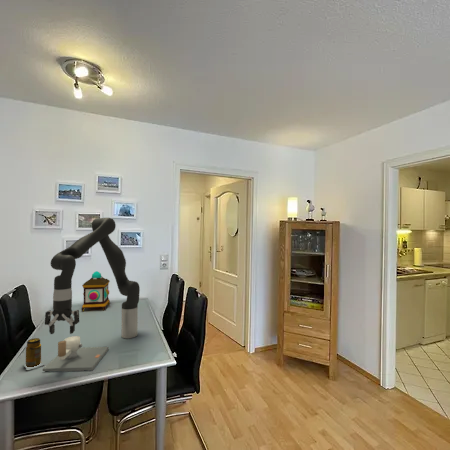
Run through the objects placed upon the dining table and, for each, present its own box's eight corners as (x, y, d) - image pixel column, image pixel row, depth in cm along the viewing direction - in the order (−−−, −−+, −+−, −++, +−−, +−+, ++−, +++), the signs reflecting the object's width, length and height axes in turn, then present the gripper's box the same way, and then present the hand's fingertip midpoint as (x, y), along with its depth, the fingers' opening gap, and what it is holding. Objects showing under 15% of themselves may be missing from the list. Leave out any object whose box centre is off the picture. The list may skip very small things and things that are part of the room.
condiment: (39, 360, 139) (40, 336, 139) (44, 366, 133) (45, 340, 133) (22, 365, 133) (22, 340, 134) (26, 371, 128) (26, 345, 128)
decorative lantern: (86, 305, 235) (87, 269, 235) (111, 304, 239) (112, 269, 239) (79, 312, 215) (79, 273, 216) (106, 311, 219) (106, 272, 219)
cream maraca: (66, 347, 142) (66, 331, 142) (84, 346, 143) (84, 331, 143) (49, 361, 127) (50, 343, 127) (70, 360, 128) (70, 343, 128)
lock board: (66, 350, 149) (66, 340, 149) (108, 349, 151) (108, 340, 151) (42, 372, 127) (42, 360, 127) (92, 370, 129) (92, 359, 129)
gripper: (82, 296, 134) (81, 330, 133) (51, 296, 133) (50, 330, 132) (74, 300, 126) (74, 336, 126) (41, 300, 125) (41, 336, 125)
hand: (62, 333), depth 129 cm, fingers open, 8 cm apart
